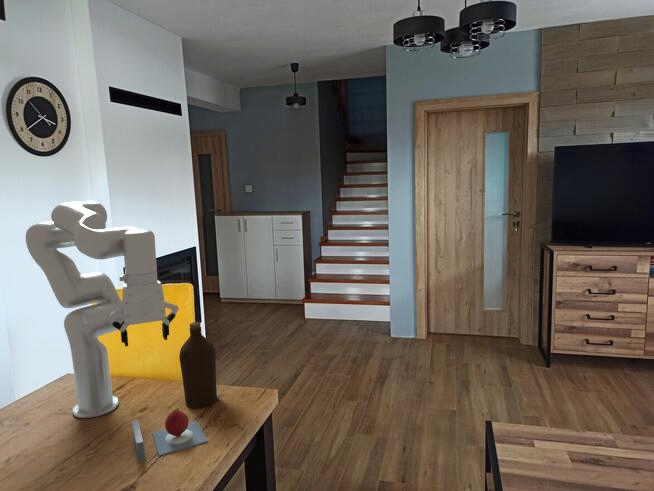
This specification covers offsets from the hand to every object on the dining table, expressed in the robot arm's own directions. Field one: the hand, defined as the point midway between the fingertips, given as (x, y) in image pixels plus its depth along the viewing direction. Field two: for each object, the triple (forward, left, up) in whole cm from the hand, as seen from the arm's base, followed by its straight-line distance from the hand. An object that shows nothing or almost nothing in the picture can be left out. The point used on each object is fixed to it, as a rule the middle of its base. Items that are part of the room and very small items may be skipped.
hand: (146, 341), depth 123 cm
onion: (+6, +5, -26) cm, 27 cm away
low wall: (+6, -5, -26) cm, 27 cm away
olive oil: (-12, +15, -26) cm, 33 cm away
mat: (+6, +5, -26) cm, 27 cm away
